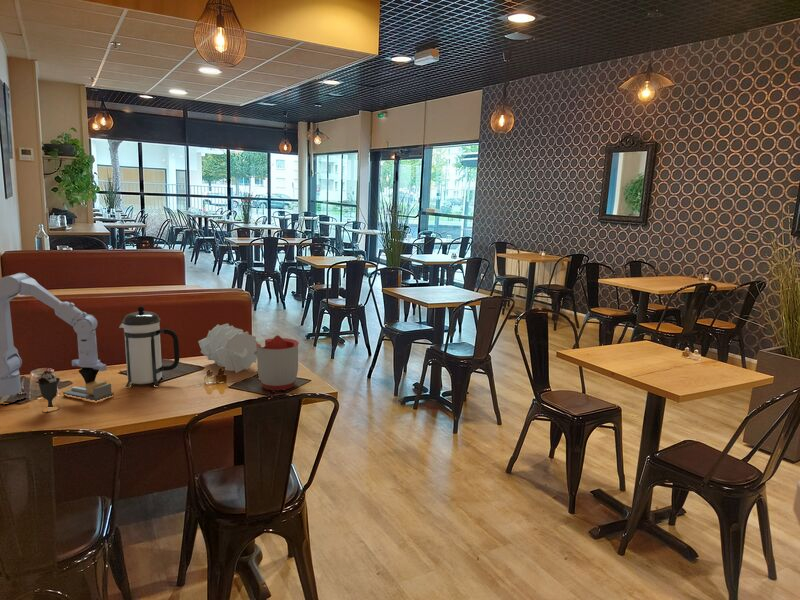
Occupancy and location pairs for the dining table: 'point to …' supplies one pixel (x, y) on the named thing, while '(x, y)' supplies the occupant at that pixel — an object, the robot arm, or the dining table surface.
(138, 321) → the coffee press
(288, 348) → the citrus juicer
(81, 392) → the track
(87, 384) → the sliding carriage
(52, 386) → the sundae
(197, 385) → the dining table surface
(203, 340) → the white ruffled oval piece
